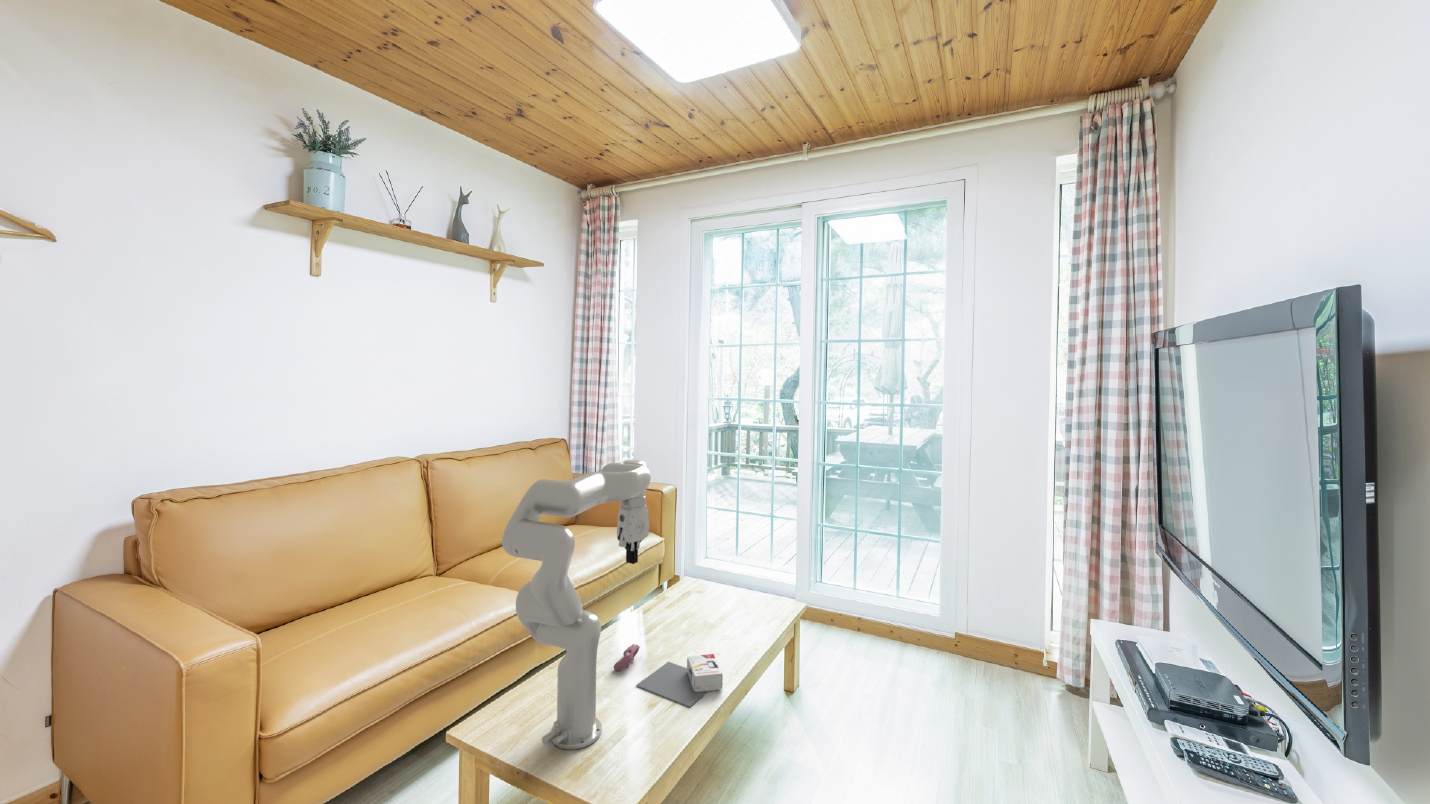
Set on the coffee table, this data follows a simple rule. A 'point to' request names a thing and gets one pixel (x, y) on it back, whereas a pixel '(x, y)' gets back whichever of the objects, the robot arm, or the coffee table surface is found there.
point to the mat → (672, 684)
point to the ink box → (704, 673)
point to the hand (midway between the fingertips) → (631, 562)
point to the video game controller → (627, 657)
